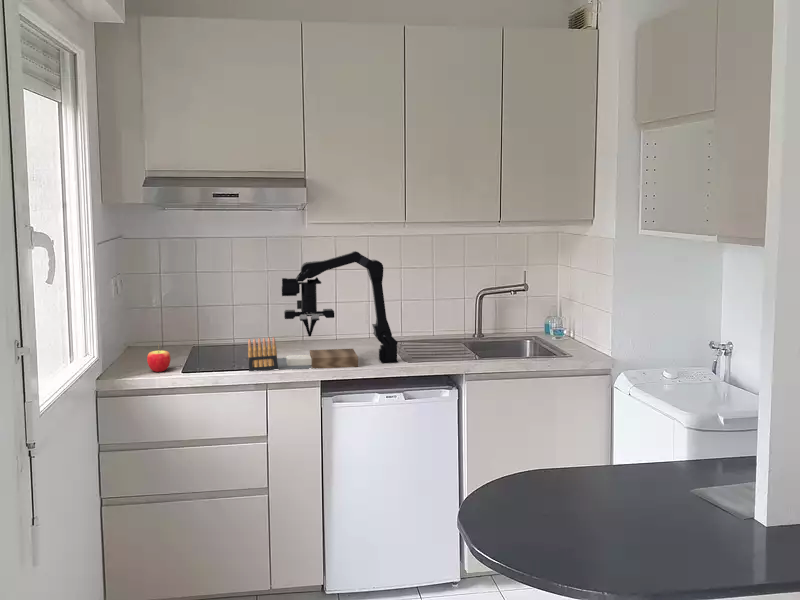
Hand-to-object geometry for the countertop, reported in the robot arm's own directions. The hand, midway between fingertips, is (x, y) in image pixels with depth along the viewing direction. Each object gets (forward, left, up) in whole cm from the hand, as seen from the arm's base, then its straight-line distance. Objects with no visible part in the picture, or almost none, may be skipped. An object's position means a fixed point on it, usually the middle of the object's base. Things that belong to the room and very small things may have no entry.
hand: (309, 336), depth 311 cm
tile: (+4, 0, -10) cm, 11 cm away
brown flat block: (-9, 0, -11) cm, 14 cm away
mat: (+7, -2, -11) cm, 13 cm away
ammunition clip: (+18, +7, -11) cm, 22 cm away
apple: (+56, +2, -11) cm, 57 cm away
